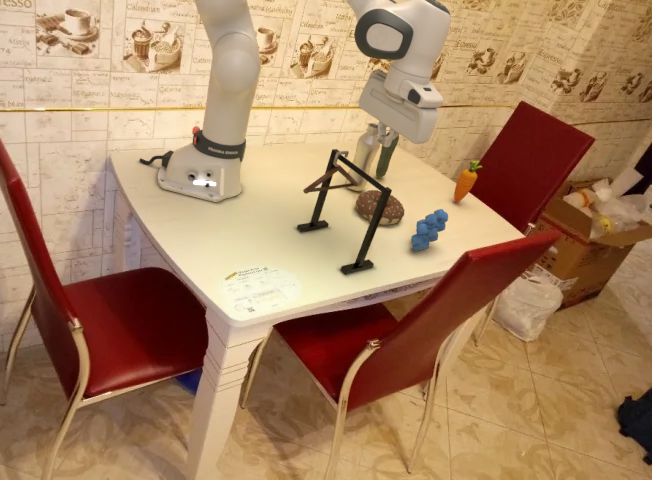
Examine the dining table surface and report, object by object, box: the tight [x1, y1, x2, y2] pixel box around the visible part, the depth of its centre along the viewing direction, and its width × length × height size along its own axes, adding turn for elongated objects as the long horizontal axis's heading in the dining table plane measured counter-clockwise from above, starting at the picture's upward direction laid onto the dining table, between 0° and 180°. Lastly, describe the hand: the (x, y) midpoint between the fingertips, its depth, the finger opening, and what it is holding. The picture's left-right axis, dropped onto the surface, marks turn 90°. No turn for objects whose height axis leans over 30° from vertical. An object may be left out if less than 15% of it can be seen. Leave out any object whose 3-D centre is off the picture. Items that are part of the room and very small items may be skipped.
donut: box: [355, 189, 406, 226], centre depth 147 cm, size 14×14×5 cm
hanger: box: [303, 150, 358, 195], centre depth 123 cm, size 17×1×10 cm, turn 125°
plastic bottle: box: [344, 122, 381, 192], centre depth 152 cm, size 6×7×20 cm
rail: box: [296, 148, 393, 276], centre depth 123 cm, size 9×20×22 cm, turn 35°
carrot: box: [453, 160, 483, 204], centre depth 162 cm, size 5×5×15 cm
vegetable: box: [375, 131, 400, 179], centre depth 162 cm, size 4×4×20 cm
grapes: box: [410, 208, 449, 252], centre depth 135 cm, size 12×7×12 cm, turn 129°
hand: (382, 144), depth 118 cm, fingers closed
